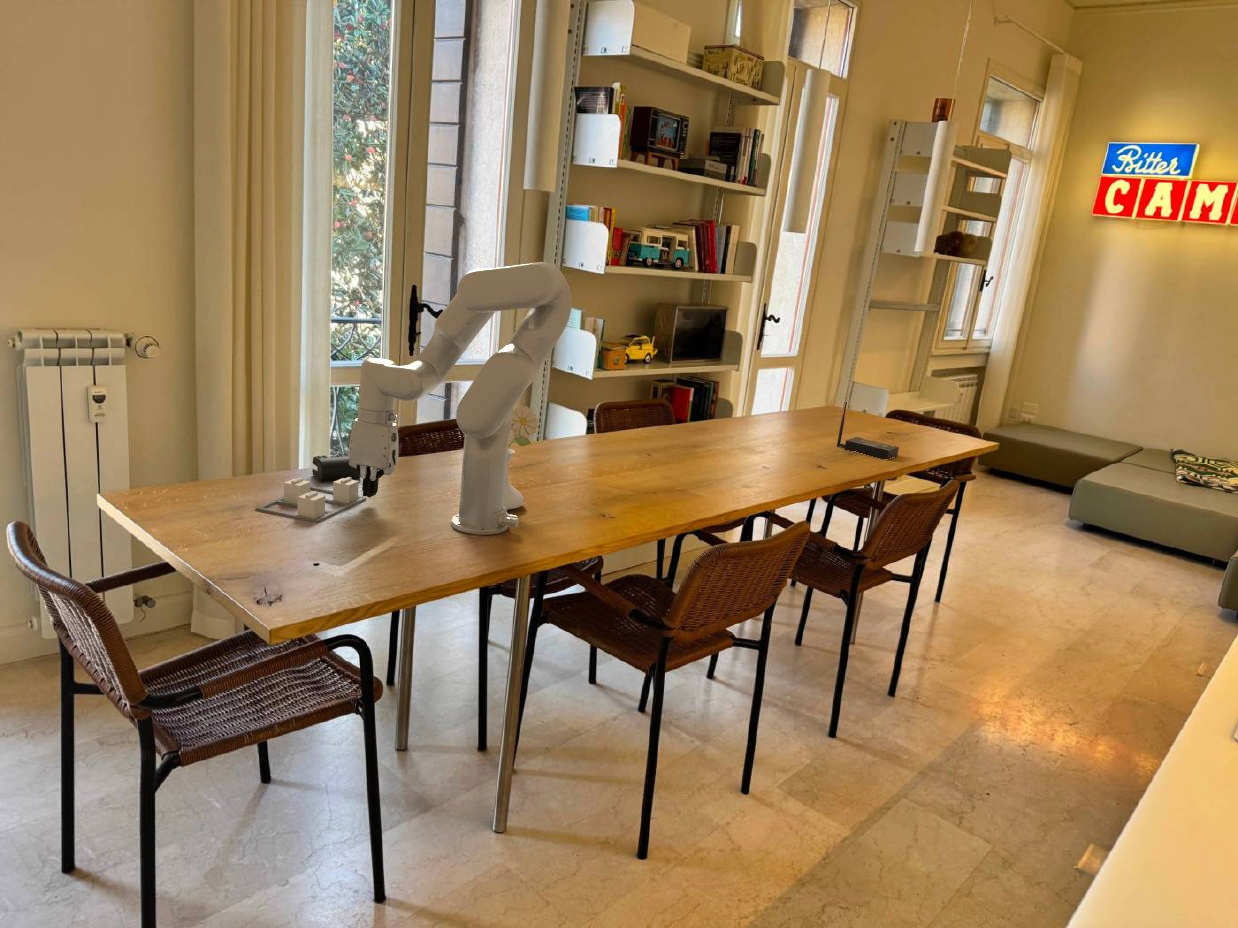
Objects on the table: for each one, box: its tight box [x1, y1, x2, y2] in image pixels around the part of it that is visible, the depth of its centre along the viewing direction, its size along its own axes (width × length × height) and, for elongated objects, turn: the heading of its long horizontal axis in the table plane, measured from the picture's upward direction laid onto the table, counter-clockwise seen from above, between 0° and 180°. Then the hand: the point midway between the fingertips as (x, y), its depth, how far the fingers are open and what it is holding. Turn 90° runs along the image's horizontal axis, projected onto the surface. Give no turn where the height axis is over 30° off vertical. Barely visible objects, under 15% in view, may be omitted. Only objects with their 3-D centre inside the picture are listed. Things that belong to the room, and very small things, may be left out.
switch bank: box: [254, 485, 367, 524], centre depth 192 cm, size 20×19×2 cm
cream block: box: [297, 490, 326, 519], centre depth 184 cm, size 4×4×5 cm
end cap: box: [311, 453, 362, 484], centre depth 211 cm, size 10×7×7 cm
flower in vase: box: [503, 404, 539, 511], centre depth 206 cm, size 13×11×25 cm
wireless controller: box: [836, 401, 900, 460], centre depth 313 cm, size 20×14×17 cm
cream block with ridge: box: [283, 477, 311, 504], centre depth 192 cm, size 4×4×5 cm
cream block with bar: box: [332, 477, 360, 503], centre depth 196 cm, size 4×4×5 cm
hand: (369, 495), depth 195 cm, fingers closed
